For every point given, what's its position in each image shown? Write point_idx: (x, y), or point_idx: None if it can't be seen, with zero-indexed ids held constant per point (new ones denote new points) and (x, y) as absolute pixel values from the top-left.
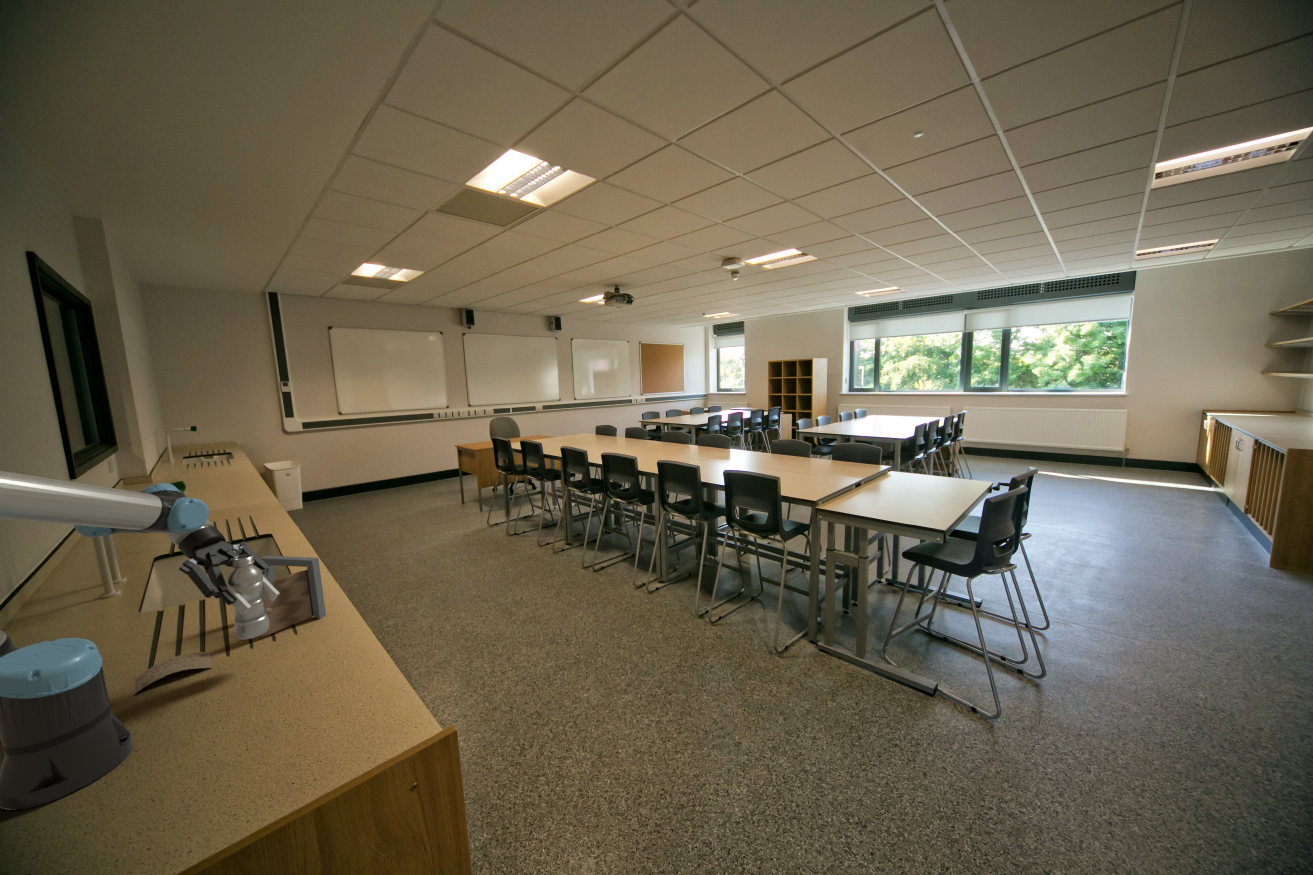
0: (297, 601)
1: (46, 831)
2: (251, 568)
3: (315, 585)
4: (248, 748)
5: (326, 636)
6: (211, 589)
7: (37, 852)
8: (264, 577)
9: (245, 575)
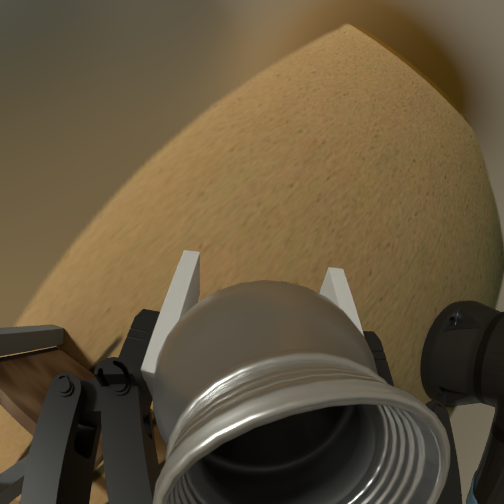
0: (51, 373)
1: (493, 274)
2: (290, 338)
3: (9, 333)
4: (413, 160)
5: (130, 254)
6: (443, 413)
7: (500, 256)
8: (148, 347)
9: (351, 329)
